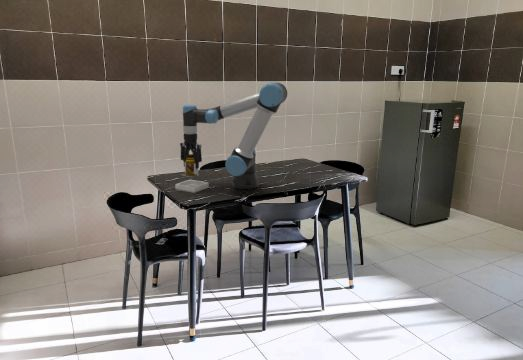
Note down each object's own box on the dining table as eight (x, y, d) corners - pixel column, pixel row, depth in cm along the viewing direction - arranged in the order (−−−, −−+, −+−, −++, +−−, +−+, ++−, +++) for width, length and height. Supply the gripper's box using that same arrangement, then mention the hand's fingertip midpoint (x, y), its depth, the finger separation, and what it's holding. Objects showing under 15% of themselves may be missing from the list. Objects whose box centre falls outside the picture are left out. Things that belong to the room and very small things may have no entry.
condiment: (191, 177, 222) (190, 156, 219) (180, 175, 227) (180, 154, 224) (200, 175, 228) (199, 154, 225) (189, 172, 233) (189, 152, 230)
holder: (208, 187, 231) (208, 182, 230) (194, 192, 220) (194, 187, 219) (189, 184, 238) (189, 179, 237) (175, 189, 227) (175, 184, 226)
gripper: (208, 133, 220) (208, 174, 225) (181, 131, 228) (182, 169, 234) (199, 135, 213) (200, 176, 219) (172, 132, 222) (174, 172, 228)
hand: (191, 173), depth 227 cm, fingers closed on condiment, 6 cm apart
